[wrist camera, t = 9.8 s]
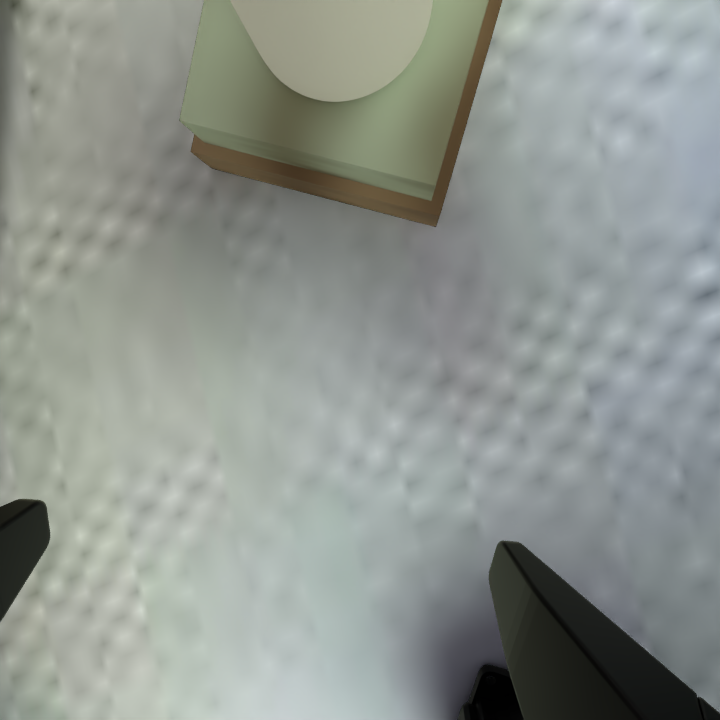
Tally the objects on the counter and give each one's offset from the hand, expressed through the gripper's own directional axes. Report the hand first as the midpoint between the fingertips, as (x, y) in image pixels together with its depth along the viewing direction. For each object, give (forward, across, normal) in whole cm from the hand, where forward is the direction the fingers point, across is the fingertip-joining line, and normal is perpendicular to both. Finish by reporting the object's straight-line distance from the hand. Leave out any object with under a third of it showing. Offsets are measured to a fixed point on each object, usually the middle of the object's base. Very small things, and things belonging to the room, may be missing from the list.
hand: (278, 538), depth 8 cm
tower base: (+15, 0, -12) cm, 20 cm away
